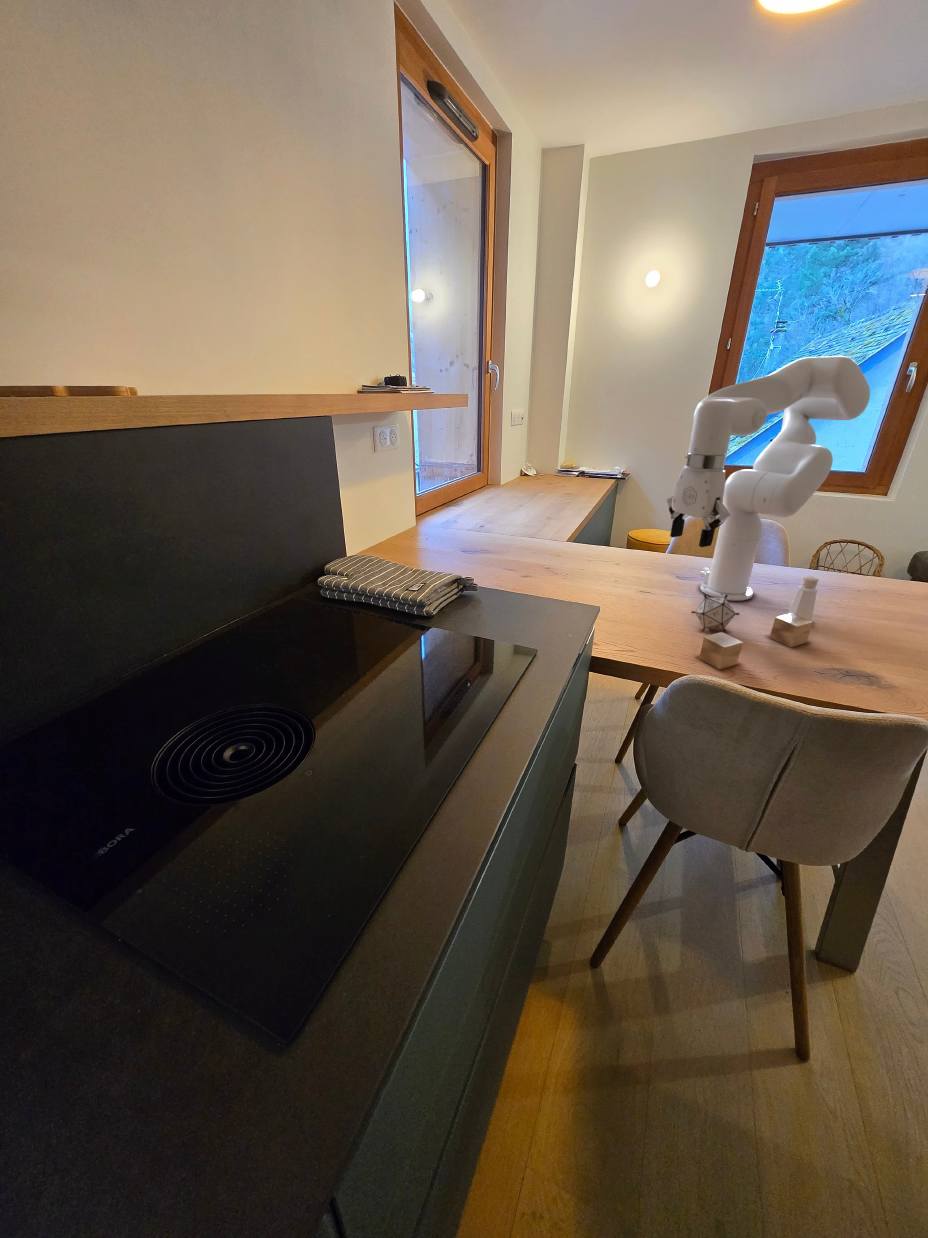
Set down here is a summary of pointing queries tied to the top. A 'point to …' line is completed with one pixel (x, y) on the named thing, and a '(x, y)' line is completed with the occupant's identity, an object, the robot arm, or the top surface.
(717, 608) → the clear faceted polyhedron
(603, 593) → the top surface
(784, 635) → the maple block
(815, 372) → the robot arm
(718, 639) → the maple block
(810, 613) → the salt shaker
